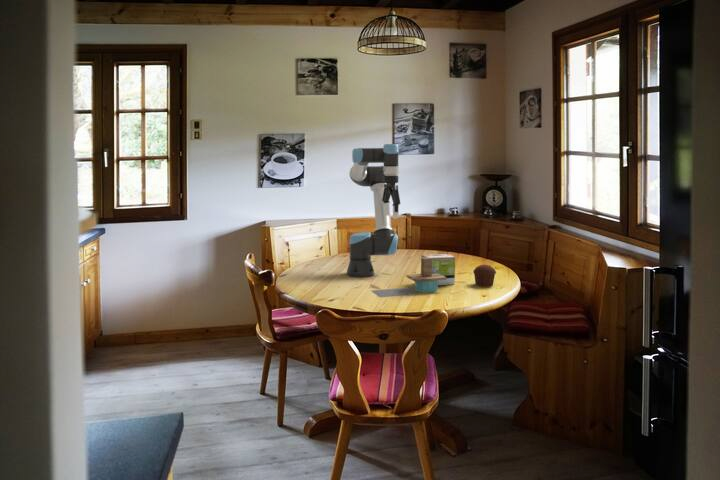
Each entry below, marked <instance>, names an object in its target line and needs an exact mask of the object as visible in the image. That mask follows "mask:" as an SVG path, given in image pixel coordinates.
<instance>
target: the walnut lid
mask: <svg viewBox="0 0 720 480" xmlns="http://www.w3.org/2000/svg"><path fill="white" fill-rule="evenodd" d="M420 263H421V264H420V273H412V274H411V273H410V274H406V278H408V279H409V280H411V281H413V282H414V283H415V282H424V281H437V280H446V279H447V277H445V276H443V275H441V274H438V273H432V259H431V258H429V257H427V258H422V257H421V258H420Z"/></svg>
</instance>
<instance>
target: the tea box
mask: <svg viewBox="0 0 720 480" xmlns="http://www.w3.org/2000/svg"><path fill="white" fill-rule="evenodd" d="M427 257H429V258H431V259H432V273H438V274H441V275H443V276H445V277H447V279H446V280H438V286H447V285H449V286H450V285H451V286H452V285H455V278H456V256H454V255H452V254H449V253H440V254H439V253H438V254H435V253H434V254H421V258H427Z"/></svg>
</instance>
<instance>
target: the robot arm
mask: <svg viewBox="0 0 720 480" xmlns="http://www.w3.org/2000/svg"><path fill="white" fill-rule="evenodd" d="M399 152H400V149H399V145H398V144H397V143H385V144H384V145H383V147H373V148H372V147H368V148H367V147H357V148H356V147H354V148H353V149H352V152H351V153H352V155H351V156H352V157H351V161H352V163H353V165H352V167H351V168H350V170H349V177H350V179H351V182H353V183H354V184H356V185H358V186H361V187H370V190H371V192H372V193H373V207H374V218H375V230H374V231H373V234H372V233H371V232H370V231H360V232H356V233H352V234H351V235H350V236H349V263H348V266H347V270H346V276H348V277H355V278H357V277H358V278H365V277H371V276H374V275H375V269H374V267H373V263H372V256H392V255H393V256H395V254H396V253H397V249H398V241H399V236H398V233H395V229H393V228H392V219H393V220H394V219H399V206H400V205H401V199H400V198H401V197H400V193H399V185H396V184H398V183H399ZM379 163H380V164H381V163H382V164H383V165H376V166H373V165H371V166H369V164H379ZM390 198H391V199H392V219H391V209H390Z"/></svg>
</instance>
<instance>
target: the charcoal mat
mask: <svg viewBox="0 0 720 480" xmlns="http://www.w3.org/2000/svg"><path fill="white" fill-rule="evenodd" d="M371 292H372V293H373V294H375V295H376V296H378V297H379V298H387V297H390V298H391V297H399V296H400V297H401V296H409V295H410V296H412V295H419V294H420V292H419V293H418V291H416V290H415V289H412V288H410V287H399V288H388V289H387V288H386V289H373V290H371Z"/></svg>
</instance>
